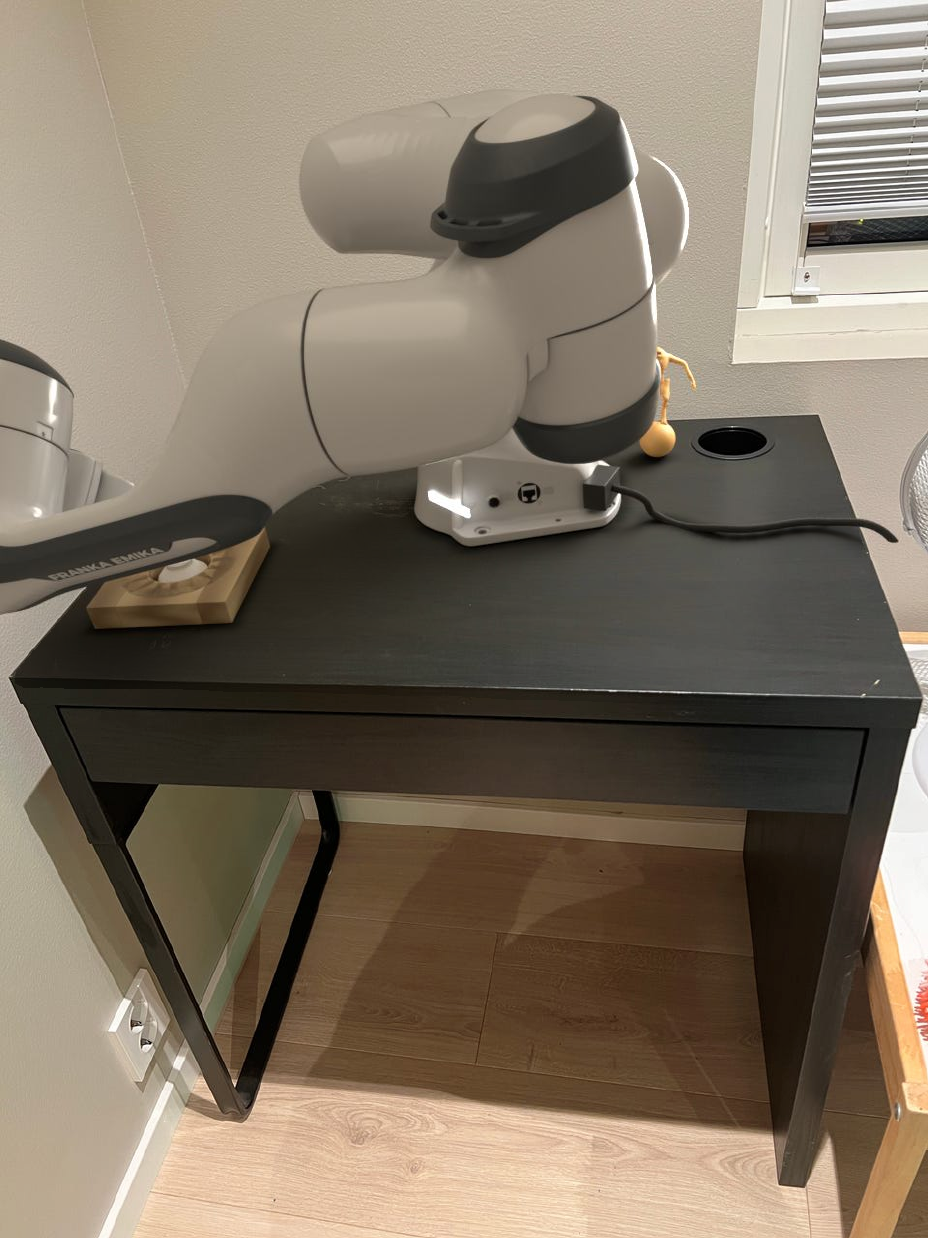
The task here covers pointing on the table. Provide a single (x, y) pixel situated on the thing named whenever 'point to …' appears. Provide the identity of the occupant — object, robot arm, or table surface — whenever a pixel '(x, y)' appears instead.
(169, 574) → the chess pawn
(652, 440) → the figurine
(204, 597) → the socket pad
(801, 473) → the table surface
